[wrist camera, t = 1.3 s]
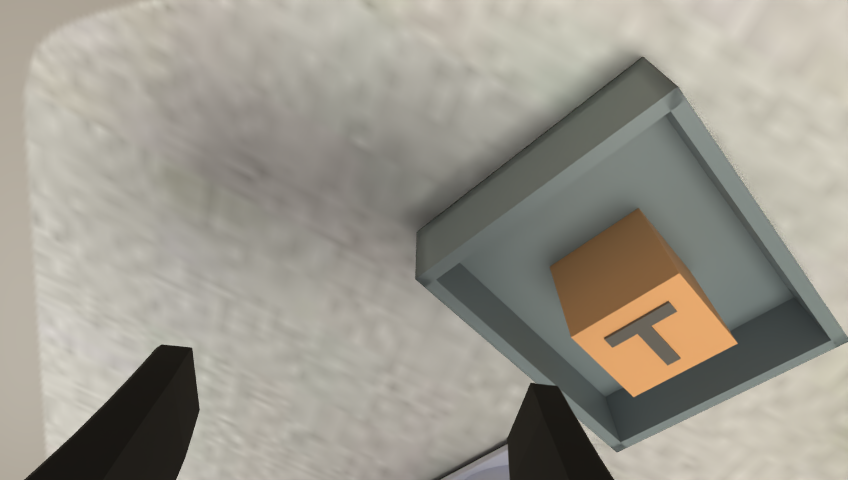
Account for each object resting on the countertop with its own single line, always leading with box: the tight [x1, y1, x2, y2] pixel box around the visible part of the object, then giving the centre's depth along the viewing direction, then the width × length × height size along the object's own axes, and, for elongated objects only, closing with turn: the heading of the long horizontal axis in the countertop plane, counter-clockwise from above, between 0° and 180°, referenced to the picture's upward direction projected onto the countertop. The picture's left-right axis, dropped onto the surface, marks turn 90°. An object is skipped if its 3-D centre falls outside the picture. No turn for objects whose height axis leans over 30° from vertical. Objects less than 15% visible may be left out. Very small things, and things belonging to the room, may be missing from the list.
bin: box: [415, 57, 848, 452], centre depth 21 cm, size 13×10×3 cm
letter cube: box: [550, 208, 738, 397], centre depth 20 cm, size 4×4×4 cm
